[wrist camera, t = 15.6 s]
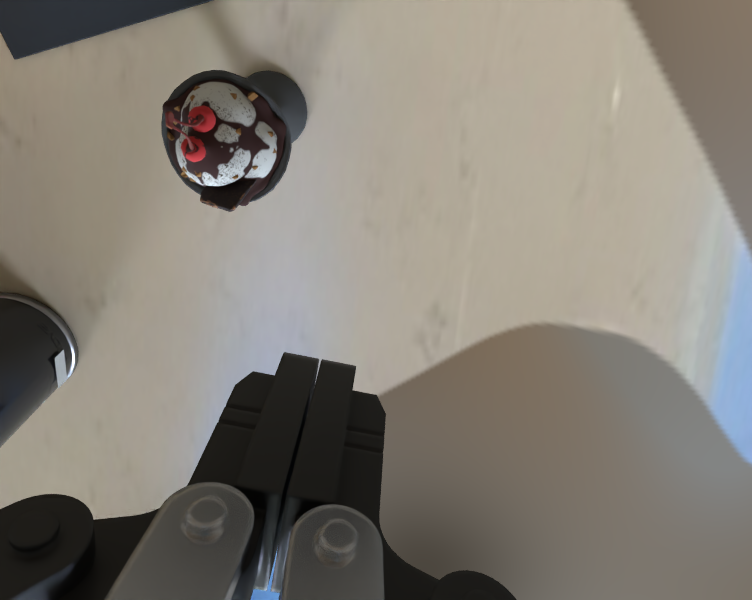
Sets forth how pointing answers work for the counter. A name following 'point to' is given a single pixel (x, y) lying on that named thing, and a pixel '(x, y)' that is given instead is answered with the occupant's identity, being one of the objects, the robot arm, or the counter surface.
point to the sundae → (232, 134)
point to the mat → (73, 20)
